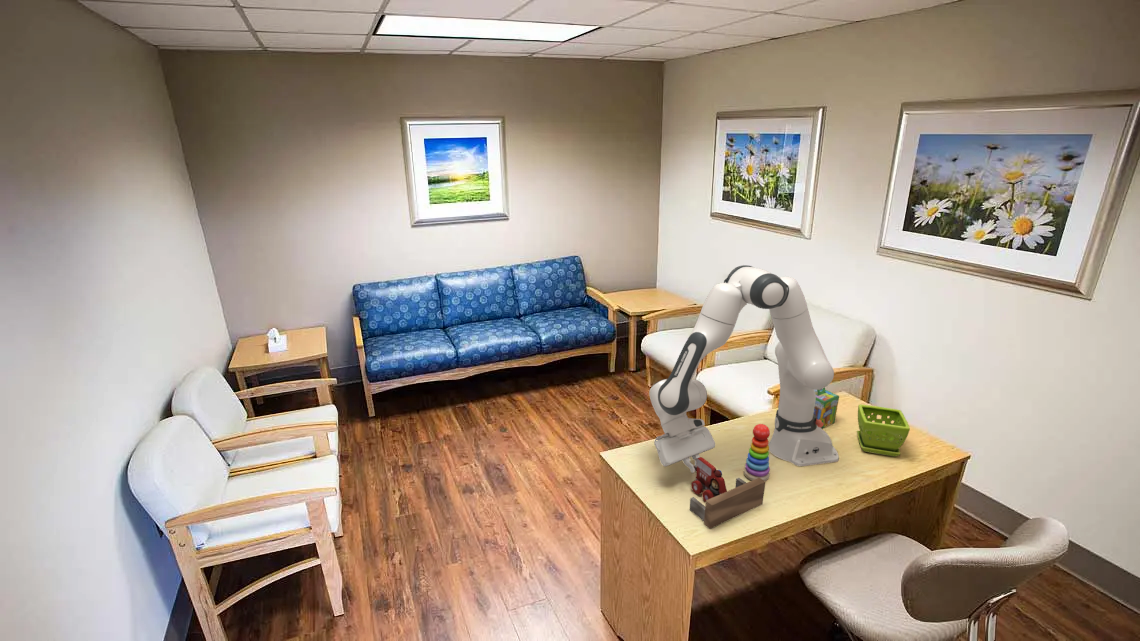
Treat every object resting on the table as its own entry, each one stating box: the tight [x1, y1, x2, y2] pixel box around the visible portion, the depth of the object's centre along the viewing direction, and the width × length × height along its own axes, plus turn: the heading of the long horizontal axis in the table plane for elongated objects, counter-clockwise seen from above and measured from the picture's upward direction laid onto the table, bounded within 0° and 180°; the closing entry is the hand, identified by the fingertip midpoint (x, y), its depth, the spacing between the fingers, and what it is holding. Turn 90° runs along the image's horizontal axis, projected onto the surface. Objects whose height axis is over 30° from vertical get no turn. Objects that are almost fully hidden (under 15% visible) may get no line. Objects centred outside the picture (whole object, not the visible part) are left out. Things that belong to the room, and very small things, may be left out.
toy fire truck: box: [690, 456, 728, 504], centre depth 166 cm, size 7×12×10 cm, turn 28°
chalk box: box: [813, 387, 840, 429], centre depth 207 cm, size 9×9×15 cm
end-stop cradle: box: [688, 477, 766, 530], centre depth 161 cm, size 9×21×8 cm, turn 120°
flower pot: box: [856, 403, 911, 457], centre depth 190 cm, size 14×14×13 cm
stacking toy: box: [743, 423, 771, 482], centre depth 174 cm, size 8×8×19 cm
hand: (696, 471), depth 172 cm, fingers closed
